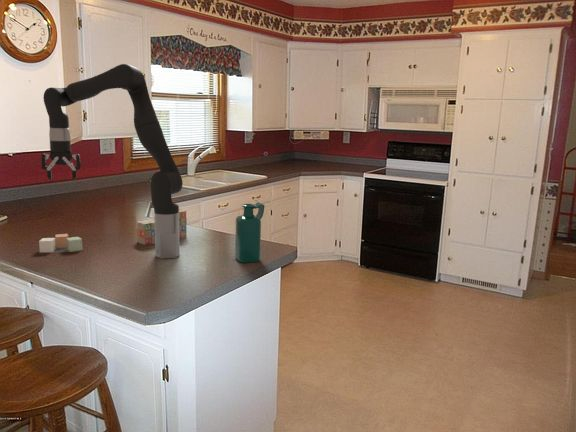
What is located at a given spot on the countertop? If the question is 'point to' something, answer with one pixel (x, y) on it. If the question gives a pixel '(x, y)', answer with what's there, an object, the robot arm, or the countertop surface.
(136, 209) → the countertop surface
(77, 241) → the sage cube
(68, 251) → the mat
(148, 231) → the stack of blocks
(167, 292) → the countertop surface
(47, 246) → the cream cube
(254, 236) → the pitcher
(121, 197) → the countertop surface
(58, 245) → the terracotta cube
